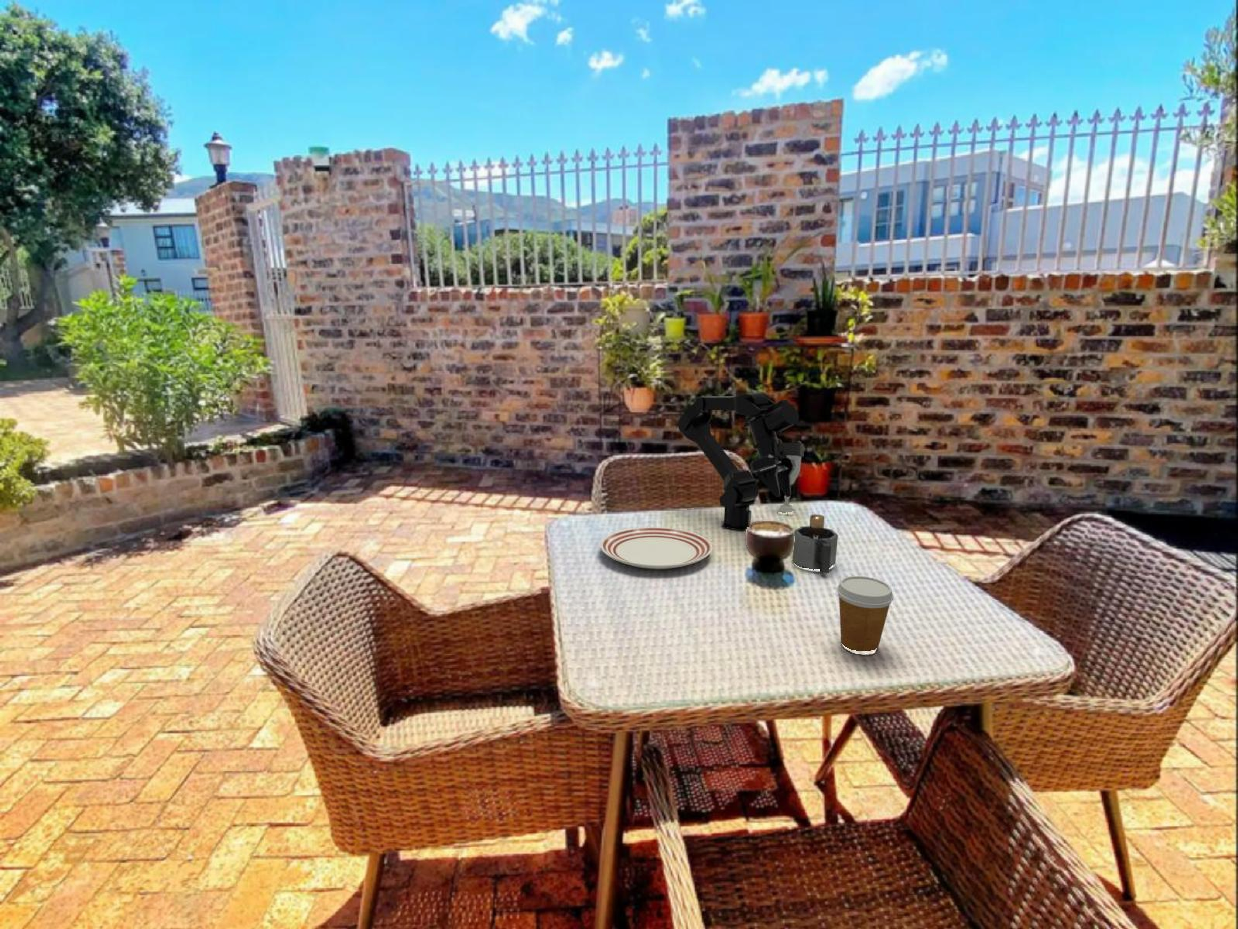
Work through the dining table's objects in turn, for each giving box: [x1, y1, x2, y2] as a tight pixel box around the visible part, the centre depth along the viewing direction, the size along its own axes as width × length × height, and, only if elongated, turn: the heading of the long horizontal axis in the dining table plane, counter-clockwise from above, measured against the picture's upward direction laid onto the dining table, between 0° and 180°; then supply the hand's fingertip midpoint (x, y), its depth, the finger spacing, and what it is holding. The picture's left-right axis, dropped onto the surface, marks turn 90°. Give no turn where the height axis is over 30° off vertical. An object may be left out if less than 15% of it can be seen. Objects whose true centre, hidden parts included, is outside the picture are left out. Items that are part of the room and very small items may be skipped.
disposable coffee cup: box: [836, 575, 895, 651], centre depth 116 cm, size 10×10×12 cm
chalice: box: [777, 455, 802, 513], centre depth 189 cm, size 7×7×18 cm
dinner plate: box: [599, 526, 713, 570], centre depth 159 cm, size 28×27×3 cm
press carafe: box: [791, 525, 839, 574], centre depth 151 cm, size 12×9×8 cm
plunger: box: [808, 513, 826, 539], centre depth 152 cm, size 7×7×11 cm
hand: (783, 496), depth 163 cm, fingers open, 9 cm apart
